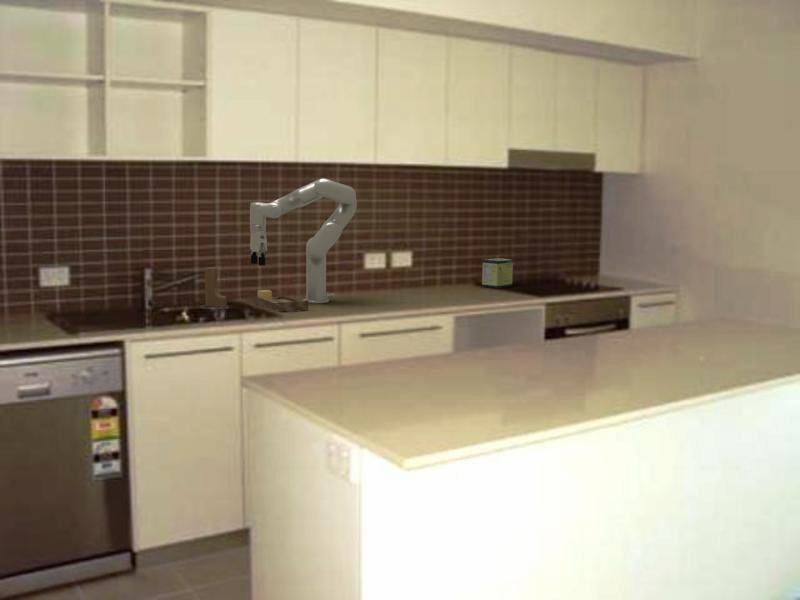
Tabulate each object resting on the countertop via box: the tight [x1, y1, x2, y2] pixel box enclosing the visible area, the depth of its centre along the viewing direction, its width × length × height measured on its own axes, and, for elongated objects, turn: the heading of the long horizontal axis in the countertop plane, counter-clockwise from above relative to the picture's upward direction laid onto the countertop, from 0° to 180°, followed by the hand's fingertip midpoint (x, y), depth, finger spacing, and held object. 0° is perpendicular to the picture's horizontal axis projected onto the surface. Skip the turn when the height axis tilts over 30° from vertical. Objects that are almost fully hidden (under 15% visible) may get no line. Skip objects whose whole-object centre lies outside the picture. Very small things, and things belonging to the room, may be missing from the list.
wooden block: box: [204, 266, 228, 308], centre depth 408 cm, size 9×4×18 cm, turn 81°
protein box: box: [481, 257, 514, 289], centre depth 498 cm, size 10×16×16 cm
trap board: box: [253, 294, 309, 313], centre depth 411 cm, size 14×30×4 cm, turn 33°
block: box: [257, 289, 273, 300], centre depth 418 cm, size 5×5×4 cm
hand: (258, 264), depth 422 cm, fingers open, 8 cm apart
